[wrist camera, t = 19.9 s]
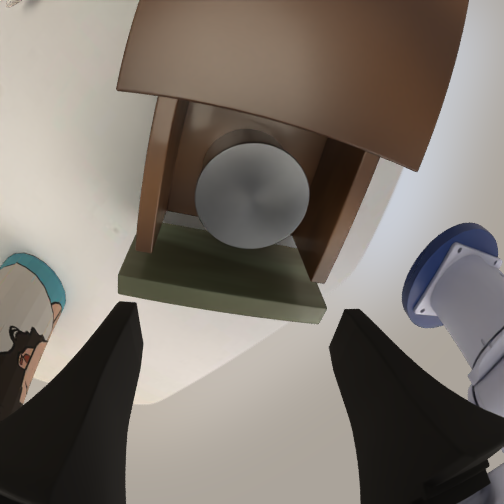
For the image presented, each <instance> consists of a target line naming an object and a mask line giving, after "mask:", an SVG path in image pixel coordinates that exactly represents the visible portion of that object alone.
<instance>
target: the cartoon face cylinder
mask: <svg viewBox="0 0 504 504" xmlns="http://www.w3.org/2000/svg"><path fill="white" fill-rule="evenodd" d="M65 302H66V299H65V291H64V289H63V286H62V283H61V281H60V280H59V278H58V277H57V276H56V274H55V273H54V271H53V270H52V269H51V268H50V267H48V266H47V265H46V264H45V263H44V262H43V261H41V260H39V259H38V258H36V257H34V256H31V255H28V254H25V253H18V254H14V255H12V256H10V257H8V258H7V260H6V261H5V262H4V263H3V264H2V266H1V267H0V422H1V421H2V420H4V419H5V418H6V417H8V416H9V415H11V414H12V413H13V412H15V411H16V410H17V409H19V408H20V407H21V406H23V403H24V400H25V397H26V394H27V392H28V389H29V386H30V384H31V381H32V378H33V376H34V373H35V371H36V368H37V366H38V363H39V361H40V359H41V356H42V354H43V352H44V349H45V347H46V345H47V342H48V340H49V338H50V336H51V334H52V331H53V329H54V327H55V325H56V323H57V321H58V319H59V317H60V315H61V313H62V310H63V308H64V305H65Z"/></svg>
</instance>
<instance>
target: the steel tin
mask: <svg viewBox="0 0 504 504" xmlns="http://www.w3.org/2000/svg"><path fill="white" fill-rule="evenodd" d="M309 196H310V190H309V183H308V180H307V177H306V174H305V172H304V170H303V168H302V167H301V165H300V164H299V163H298V162H297V160H296V159H295V158H294V157H293V156H292V155H291V154H290V153H288V152H287V151H285V150H284V148H283V147H282V146H281V145H280V144H279V142H278V141H276V140H275V139H274V138H273V137H271V136H270V135H268V134H266V133H264V132H261V131H258V130H253V129H240V130H235V131H232V132H229V133H227V134H225V135H223V136H222V137H220V138H219V139H217V140H216V141H215V142H214V143H213V144H212V146H211V147H210V148H209V150H208V151H207V153H206V155H205V158H204V161H203V166H202V170H201V173H200V175H199V177H198V180H197V184H196V188H195V207H196V211H197V214H198V217H199V219H200V221H201V223H202V224H203V226H204V227H205V228H206V230H207V231H208V232H209V233H210V234H211V235H212V236H214V237H215V238H216V239H218V240H219V241H221V242H223V243H225V244H227V245H230V246H233V247H237V248H243V249H257V248H263V247H267V246H270V245H273V244H275V243H278V242H280V241H281V240H283V239H285V238H286V237H287V236H289V235H290V234H291V233H292V232H293V231H294V230H295V229H296V228H297V227H298V226H299V224H300V223H301V221H302V220H303V218H304V216H305V214H306V211H307V208H308V204H309Z"/></svg>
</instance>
